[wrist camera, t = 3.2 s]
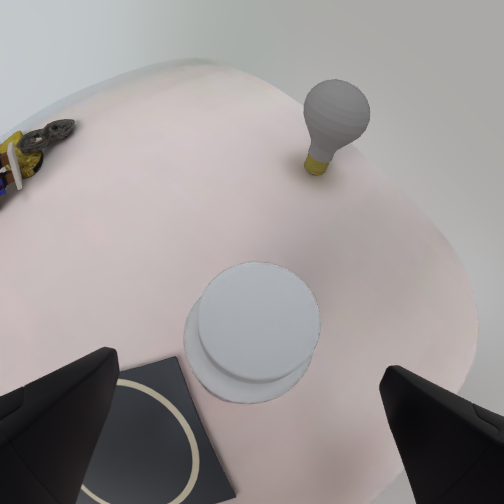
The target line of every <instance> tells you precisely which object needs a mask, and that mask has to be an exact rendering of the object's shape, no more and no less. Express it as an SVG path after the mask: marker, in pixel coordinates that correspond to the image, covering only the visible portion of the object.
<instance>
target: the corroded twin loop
mask: <svg viewBox="0 0 504 504" xmlns="http://www.w3.org/2000/svg"><path fill="white" fill-rule="evenodd" d="M74 123H75V122H74V120H70V119H64V120H57V121H53V122H51V123H49V124H47V125H46V126H45V127H44V128H43V129H39V130H35V131H31V132H29V133H27V134H25V135H24V136H23V137H22V138H21V139H20V140H19V141H18V143H17V146H16V147H17V148H18V149H20V151H21V152H22V153H29V152H38V151H40V150H42V149H43V148H45V147H46V146H47V145H48V143H49V142H50V141H51V140H58V138H59V139H63V138H65V137H66V136H67V135H68V134H70V132H71V131H72V127H73V126H74ZM56 129H59V131H54V130H56ZM64 136H65V137H64ZM40 137H42V140H40V141H38V142H36V143H34V142H35V141H36V138H40ZM35 148H36V149H35Z"/></svg>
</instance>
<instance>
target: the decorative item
mask: <svg viewBox="0 0 504 504" xmlns="http://www.w3.org/2000/svg"><path fill="white" fill-rule="evenodd" d="M22 137H23V135H22V132H21V131H17V132H15V133H14V134H13V135H12V136H10V137H9V138H8V139H7V140H6V141H5V142H3V143H2V144H1V145H0V154H2V153H4V152H6V151H7V150H8V144H9V143H11V142H13V145H14V149H15V153H16V157H17V161H18V165H19V168H20V172H21V175H22V178H28V177H30V176H32V175H34V174H35V173H36V172H37V171H38V170H39V168H40V167H41V165H42V162H43V154H42V151H41V150H40V151H38V152H29V153H22V152H21V151H20V149H18V148H17V147H16V146H17V143H18V141H19V140H20V139H21V138H22ZM34 143H36V142H34ZM35 149H36V148H35ZM5 168H6V170H7V171H8V170H10V169H11V166H10V164H8V165H6V166H5Z"/></svg>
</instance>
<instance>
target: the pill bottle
mask: <svg viewBox="0 0 504 504" xmlns="http://www.w3.org/2000/svg"><path fill="white" fill-rule="evenodd" d="M320 328H321V319H320V311H319V307H318V304H317V302H316V299H315V297H314V295H313V293H312V292H311V290H310V289H309V287H308V286H307V285H306V284H305V283H304V282H303V281H302V280H301V279H300V278H299V277H298V276H297V275H295V274H294V273H292V272H291V271H289V270H287V269H285V268H283V267H281V266H278V265H275V264H271V263H265V262H248V263H242V264H239V265H236V266H233V267H230V268H228V269H227V270H225V271H223V272H222V273H220V274H219V275H218V276H216V277H215V278H214V279H213V280H212V281H211V282H210V283H209V285H208V286H207V288H206V289H205V291H204V293H203V295H202V296H201V297H200V298H199V299H198V301H197V302H196V303H195V304H194V306H193V308H192V309H191V311H190V313H189V315H188V318H187V320H186V324H185V329H184V350H185V355H186V358H187V361H188V364H189V366H190V368H191V370H192V372H193V374H194V375H195V377H196V378H197V379H198V381H199V382H200V383H201V384H202V386H203V387H204V388H205V389H206V390H207V391H208V392H209V393H211V394H212V395H213V396H215V397H217V398H219V399H221V400H224V401H227V402H231V403H240V404H255V403H261V402H266V401H269V400H272V399H275V398H277V397H279V396H281V395H283V394H284V393H286V392H287V391H289V390H290V389H291V388H292V387H293V386H294V385H296V383H297V382H298V381H299V380H300V379H301V378H302V376H303V375H304V373H305V372H306V370H307V368H308V366H309V364H310V361H311V358H312V354H313V350H314V349H315V347H316V344H317V342H318V338H319V335H320Z"/></svg>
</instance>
